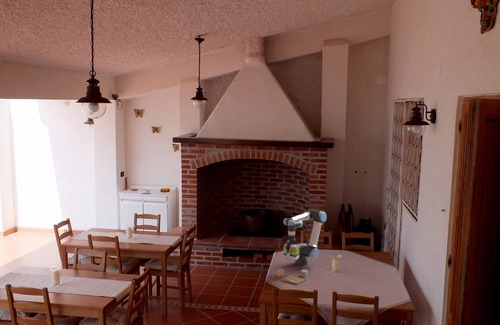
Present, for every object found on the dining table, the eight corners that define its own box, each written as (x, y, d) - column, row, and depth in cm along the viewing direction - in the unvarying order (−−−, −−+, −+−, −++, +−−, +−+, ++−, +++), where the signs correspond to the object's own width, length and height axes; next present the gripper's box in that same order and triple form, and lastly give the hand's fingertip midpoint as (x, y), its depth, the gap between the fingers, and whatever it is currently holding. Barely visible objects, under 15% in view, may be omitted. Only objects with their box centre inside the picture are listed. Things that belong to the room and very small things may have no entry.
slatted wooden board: (289, 276, 481) (289, 274, 481) (305, 280, 468) (305, 279, 468) (281, 280, 469) (281, 279, 469) (297, 285, 456) (297, 283, 456)
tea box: (283, 258, 484) (283, 245, 482) (286, 255, 493) (286, 242, 491) (295, 260, 477) (296, 247, 475) (299, 257, 485) (299, 244, 484)
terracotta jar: (279, 275, 483) (279, 268, 482) (285, 277, 478) (285, 269, 477) (275, 277, 477) (275, 270, 476) (281, 279, 473) (281, 271, 472)
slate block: (303, 274, 485) (303, 269, 484) (308, 275, 481) (308, 270, 481) (300, 276, 481) (300, 270, 480) (305, 277, 477) (305, 272, 476)
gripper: (294, 231, 493) (294, 251, 495) (282, 236, 475) (282, 256, 478) (300, 233, 488) (300, 252, 491) (288, 237, 470) (287, 257, 473)
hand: (291, 254), depth 484 cm, fingers closed on tea box, 11 cm apart
